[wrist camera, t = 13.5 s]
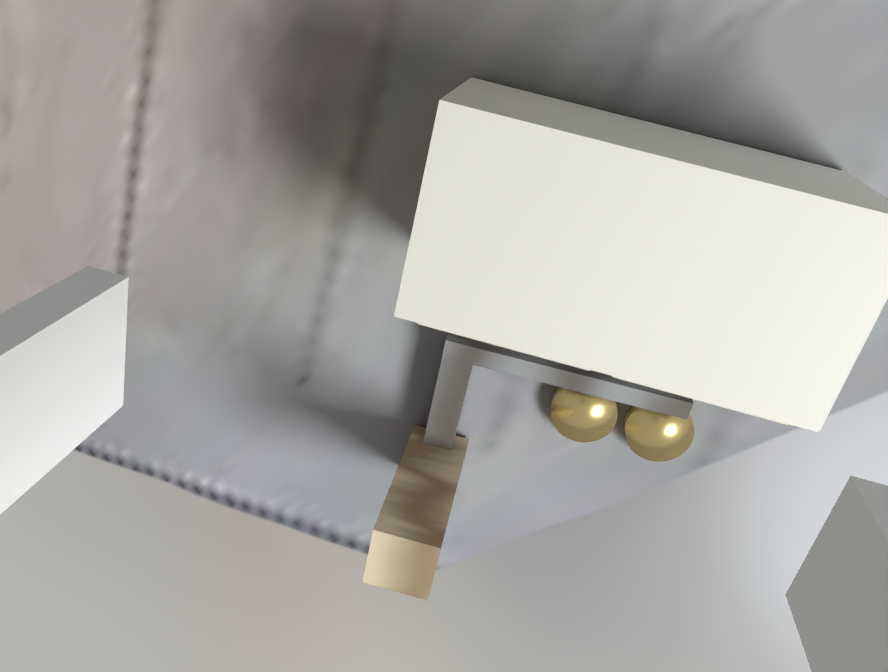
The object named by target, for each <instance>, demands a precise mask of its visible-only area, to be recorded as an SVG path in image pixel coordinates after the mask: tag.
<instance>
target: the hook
mask: <svg viewBox="0 0 888 672" xmlns="http://www.w3.org/2000/svg"><path fill="white" fill-rule="evenodd" d="M473 365H476V366H480V367H484V368H488V369H492V370H496V371H500V372H504V373H508V374H511V375H515V376H519V377H523V378H527V379H531V380H535V381H539V382H542V383H546V384H550V385H554V386H558V387H562V388H566V389H570V390H573V391H577V392H581V393H585V394H589V395H593V396H597V397H601V398H604V399H608V400H612V401H616V402H620V403H624V404H628V405H632V406H636V407H639V408H643V409H647V410H651V411H655V412H659V413H663V414H667V415H670V416H674V417H678V418H682V419H686V420H687V418H688V415H689V413H690V410H691V408H692V405H693V401H692V399H691V398H687V397H683V396H680V395H676V394H672V393H669V392H665V391H661V390H658V389H654V388H650V387H647V386H643V385H639V384H636V383H632V382H628V381H625V380H621V379H617V378H614V377H612V376H611V375H607V374H604V373H600V372H596V371H593V370H590V371H588V370H584V369H581V368H577V367H573V366H570V365H566V364H562V363H559V362H555V361H551V360H548V359H544V358H540V357H537V356H533V355H529V354H526V353H522V352H518V351H515V350H511V349H507V348H504V347H500V346H496V345H493V344H489V343H485V342H482V341H478V340H474V339H471V338H467V337H463V336H460V335H456V334H452V333H448V335H447V338H446V341H445V345H444V350H443V354H442V360H441V365H440V369H439V374H438V378H437V382H436V387H435V391H434V396H433V400H432V405H431V409H430V413H429V418H428V422H427V427H422V426H418V425H414V427H413V430H412V432H411V435H410V438H409V440H408V443H407V445H406V448H405V450H404V453H403V455H402V458H401V460H400V463H399V466H398V468H397V471H396V473H395V476H394V478H393V481H392V483H391V486H390V488H389V491H388V494H387V496H386V499H385V501H384V504H383V506H382V509H381V511H380V514H379V517H378V519H377V522H376V524H375V527H374V529H373V534H372V538H371V543H370V548H369V553H368V558H367V564H366V568H365V573H364V578H363V582H364V583H367V584H371V585H374V586H378V587H382V588H385V589H389V590H392V591H396V592H400V593H403V594H407V595H410V596H414V597H417V598H421V599H424V600H428V597H429V593H430V589H431V585H432V581H433V577H434V573H435V570H436V566H437V562H438V558H439V554H440V550H441V546H442V542H443V538H444V534H445V531H446V527H447V523H448V519H449V515H450V511H451V507H452V503H453V499H454V495H455V491H456V488H457V484H458V480H459V476H460V472H461V468H462V464H463V460H464V456H465V452H466V448H467V445H468V441H469V439H467V438H464V437H460V436H456V430H457V426H458V422H459V418H460V414H461V410H462V406H463V402H464V398H465V394H466V390H467V386H468V382H469V378H470V374H471V370H472V366H473Z"/></svg>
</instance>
